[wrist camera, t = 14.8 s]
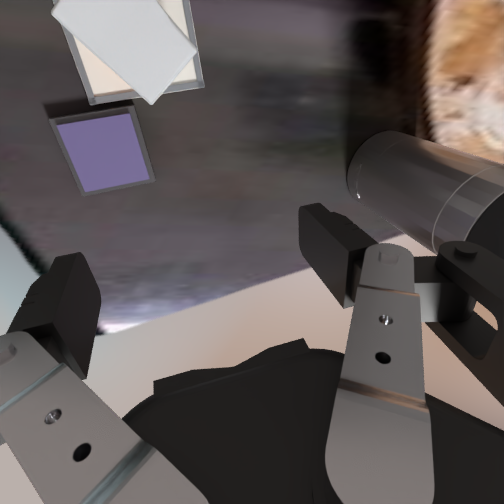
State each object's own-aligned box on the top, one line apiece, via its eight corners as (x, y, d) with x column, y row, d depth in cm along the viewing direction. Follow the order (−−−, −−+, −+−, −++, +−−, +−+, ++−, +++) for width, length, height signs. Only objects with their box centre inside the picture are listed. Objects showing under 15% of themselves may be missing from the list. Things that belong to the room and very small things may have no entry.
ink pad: (133, 104, 29) (133, 106, 27) (155, 178, 32) (156, 182, 31) (51, 117, 27) (47, 120, 26) (84, 192, 31) (81, 198, 30)
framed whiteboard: (180, -44, 24) (181, -46, 24) (203, 86, 29) (204, 87, 29) (42, -32, 23) (39, -34, 22) (91, 104, 28) (90, 105, 27)
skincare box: (82, 26, 25) (43, 9, 15) (116, -21, 24) (99, -71, 14) (148, 89, 28) (151, 108, 18) (179, 49, 27) (201, 48, 17)
